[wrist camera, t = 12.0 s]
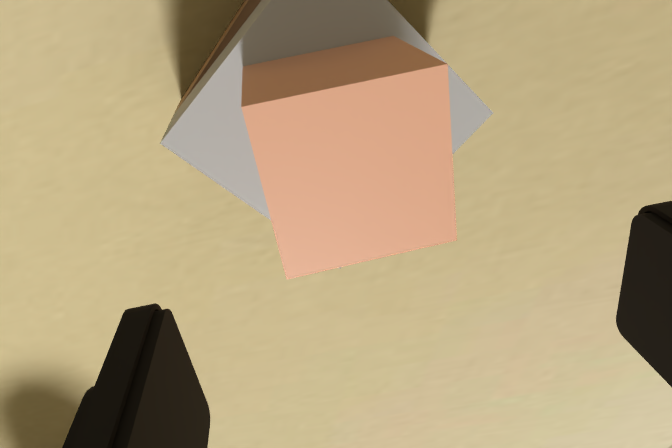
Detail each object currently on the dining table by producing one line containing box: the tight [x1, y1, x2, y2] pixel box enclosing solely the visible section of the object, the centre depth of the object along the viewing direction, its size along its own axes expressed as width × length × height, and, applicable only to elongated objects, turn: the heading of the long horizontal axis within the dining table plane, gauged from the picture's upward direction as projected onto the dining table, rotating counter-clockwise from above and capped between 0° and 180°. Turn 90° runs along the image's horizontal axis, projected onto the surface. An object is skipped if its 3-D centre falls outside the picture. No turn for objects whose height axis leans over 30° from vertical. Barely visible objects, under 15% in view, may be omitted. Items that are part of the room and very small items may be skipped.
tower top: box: [160, 0, 493, 268], centre depth 23 cm, size 10×10×4 cm
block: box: [241, 36, 457, 279], centre depth 18 cm, size 6×6×6 cm
